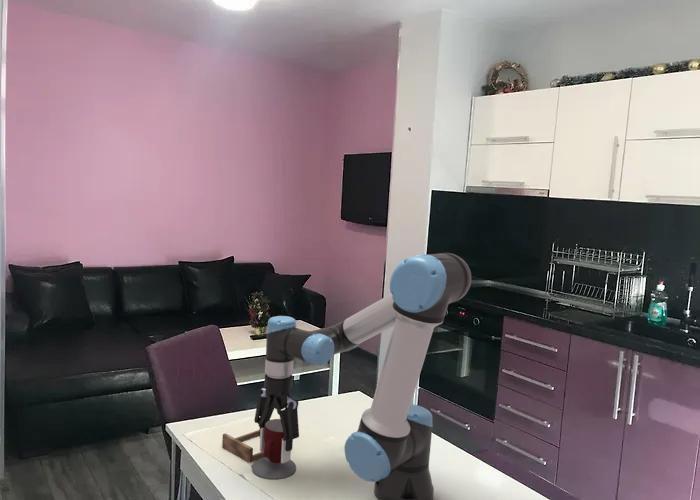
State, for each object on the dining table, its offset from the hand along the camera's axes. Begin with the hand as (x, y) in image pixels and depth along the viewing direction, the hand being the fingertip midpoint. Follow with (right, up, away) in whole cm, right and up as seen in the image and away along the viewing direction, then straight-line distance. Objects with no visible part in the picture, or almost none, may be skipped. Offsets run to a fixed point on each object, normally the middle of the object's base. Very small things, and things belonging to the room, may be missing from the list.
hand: (274, 455), depth 155 cm
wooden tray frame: (-7, -2, +13) cm, 14 cm away
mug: (0, -2, 0) cm, 2 cm away
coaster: (0, -4, 0) cm, 4 cm away
